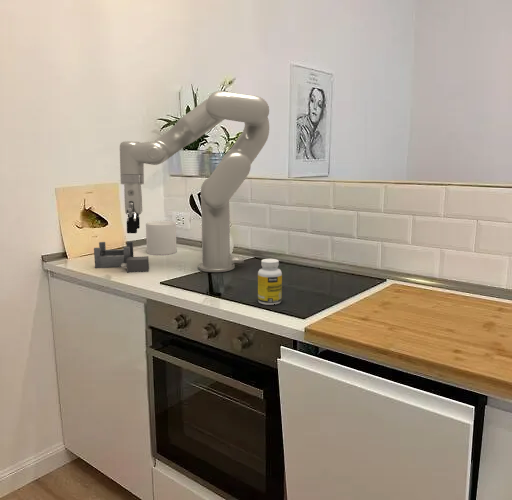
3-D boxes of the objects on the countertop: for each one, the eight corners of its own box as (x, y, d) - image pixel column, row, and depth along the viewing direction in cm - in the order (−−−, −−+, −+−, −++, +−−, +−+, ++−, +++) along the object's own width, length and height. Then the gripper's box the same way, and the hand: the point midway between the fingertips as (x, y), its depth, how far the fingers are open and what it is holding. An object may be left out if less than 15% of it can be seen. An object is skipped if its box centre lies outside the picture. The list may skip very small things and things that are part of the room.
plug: (149, 268, 176) (148, 256, 176) (148, 272, 172) (147, 259, 171) (122, 270, 175) (121, 257, 174) (121, 273, 170) (120, 260, 169)
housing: (133, 259, 191) (132, 241, 189) (130, 266, 179) (129, 247, 177) (100, 260, 189) (99, 241, 188) (95, 268, 177) (93, 248, 176)
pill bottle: (261, 306, 134) (261, 263, 132) (255, 299, 140) (255, 258, 138) (284, 304, 136) (285, 262, 133) (277, 297, 142) (277, 257, 139)
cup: (152, 256, 196) (150, 225, 193) (143, 251, 206) (142, 222, 203) (180, 253, 201) (179, 223, 199) (171, 248, 211) (169, 219, 209)
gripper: (141, 181, 159) (142, 235, 163) (145, 178, 176) (146, 226, 179) (117, 181, 158) (118, 235, 162) (123, 177, 175) (124, 226, 178)
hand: (133, 230), depth 171 cm, fingers open, 9 cm apart
